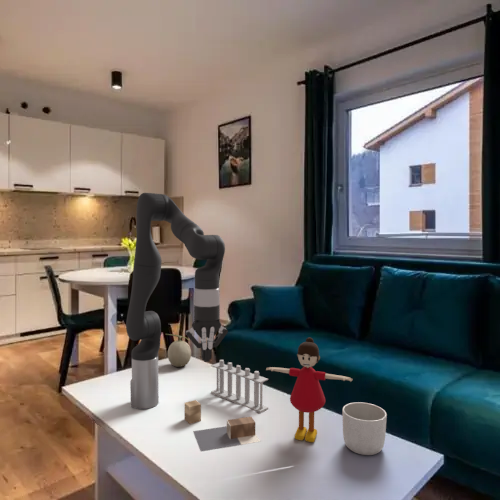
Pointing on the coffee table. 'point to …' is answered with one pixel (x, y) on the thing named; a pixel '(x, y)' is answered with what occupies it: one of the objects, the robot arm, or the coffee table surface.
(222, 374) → the test tube rack
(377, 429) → the planter
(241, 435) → the walnut block
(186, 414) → the oak block
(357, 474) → the coffee table surface
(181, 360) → the fruit
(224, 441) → the mat
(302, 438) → the toy
